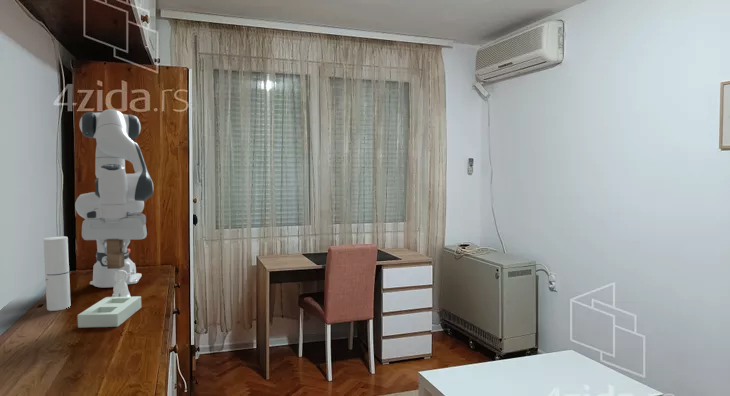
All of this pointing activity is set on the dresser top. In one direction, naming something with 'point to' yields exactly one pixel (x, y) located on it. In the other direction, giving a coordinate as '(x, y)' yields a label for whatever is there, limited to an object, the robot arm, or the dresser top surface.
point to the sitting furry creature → (121, 284)
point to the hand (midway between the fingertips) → (115, 252)
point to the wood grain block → (115, 254)
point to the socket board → (109, 312)
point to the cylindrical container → (57, 273)
